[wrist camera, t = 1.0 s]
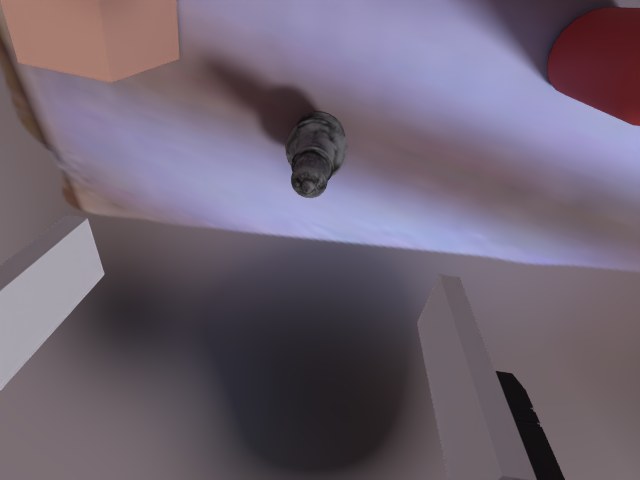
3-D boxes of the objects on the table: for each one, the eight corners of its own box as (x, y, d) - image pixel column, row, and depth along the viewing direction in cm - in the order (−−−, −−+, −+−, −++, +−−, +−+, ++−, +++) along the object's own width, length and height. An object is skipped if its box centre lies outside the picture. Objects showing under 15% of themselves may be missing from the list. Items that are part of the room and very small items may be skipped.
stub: (101, -39, 28) (-19, -57, 19) (175, -22, 28) (91, -32, 19) (113, 44, 31) (16, 63, 22) (179, 58, 32) (109, 82, 23)
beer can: (542, 27, 29) (641, 42, 19) (634, -9, 27) (798, -13, 17) (545, 105, 32) (630, 152, 22) (627, 77, 30) (761, 115, 20)
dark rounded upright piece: (302, 98, 33) (281, 140, 23) (357, 123, 34) (359, 173, 24) (283, 152, 37) (257, 209, 27) (334, 173, 37) (327, 235, 28)
